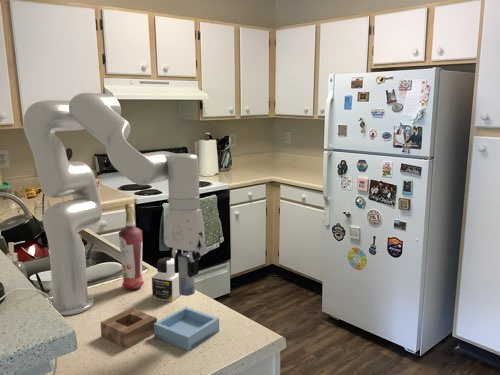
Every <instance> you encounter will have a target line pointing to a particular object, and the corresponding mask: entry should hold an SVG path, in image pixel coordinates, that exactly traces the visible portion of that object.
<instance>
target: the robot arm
mask: <svg viewBox="0 0 500 375" xmlns="http://www.w3.org/2000/svg"><path fill="white" fill-rule="evenodd" d="M121 114H122V107H121V104H120V102H119V101H118V99H117V98H115V96H113V95H111V94H109V93H104V92H100V93H99V92H81V93H78V94H76V95H74V96H73V97H72V98H71V99H70V100H60V99H59V100H57V99H56V100H52V99H51V100H50V99H49V100H48V99H47V100H46V99H45V100H40V101H36V102H34V103H32V104H31V105H29V106H28V107H27V109H26V110H25V112H24V115H23V119H22V120H23V122H22V126H23V131H24V134H25V137H26V139H27V142H28V144H29V146H30V149H31V153H32V155H33V160H34V163H35V164H34V165H35V168H36V172H37V173H36V174H37V176H38V177H37V178H38V181H39V185H40V189H41V191H42V193H43V194H44V195H45V197H48V198H50V199H58V198H59V199H60V198H64V197H68V196H72V199H68V200H64V201H61V202H57V203H54V204H52V205H50V206H49V207H48V208H46V210H45V211H44V212H43V215H42V225H43V228H44V232H45V234H46V238H47V244H48V252H49V264H50V274H51V275H50V276H51V287H52V288H51V289H50V290H49V293H48V294H50V295H51V296H52V300H51V301H50V302H52V305H53V307H54V308H55V309H56V310H57V311H58V312H59V313H60V314H61V315H60V316H72V315H76V314H81V313H83V312H85V311H88V310H89V309H91V308H92V306H94V303H95V302H94V297H93V296H91V295H90V294H88V293H89V292H88V277H87V264H86V262H87V261H86V250H85V245H84V242H83V240H82V239H81V237H80V236H79V234H78V232H81V231H84V230H86V229H89V228H92V227H94V226H97V225H98V224H99V223H100V221H101V219H102V216H103V208H102V203H101V199H100V194H99V189H98V186H97V185H98V184H97V181H96V177H95V174H94V172H93V170H92V169H91V167H90V166H89V165H88V164H86V163H85V162H83V161H78V160H77V161H69V159H68V156H67V151H66V148H65V146H64V144H63V141H61V139H60V138H59V137H58V136H57V135H56V134H55V133H56V132H70V131H81V130H82V131H83V130H86V131H87V132H88V133H89V134H91V135H92V137H94V138H96V139H97V140H98V141H99V142H100V143H102V144H103V145H104V146H105V151H106V155H107V157H108V159H109V161H110V163H111V165H112V166H113V168H114V169H115V170H116V171H118V172H119V173H120V174H121V175H122V176H124V177H125V178H126V179H128V180H129V181H131V182H132V183H133V184H135V185H139V186H149V185H152V184H156V183H160V182H164V181H167V183H168V186H167V187H168V197H167V202H168V207H167V208H166V212H165V219H164V245H165V246H166V247H167V248H168V250H169V251H170V252H171V258H174V269H175V273H178V255H179V254H181V253H184V252H187V253H188V254H189V260H190V261H189V262H188V276H189V277H193V276H194V277H195V276H197V275H198V274H199V260H200V259H201V258H202V257H203V256H204V255H205V254H207V253H209V249H208V247H207V244H206V242H205V241H206V240H205V239H206V234H205V233H206V232H205V224H204V223H205V222H204V217H203V212H202V209H201V205H200V202H201V201H200V175H199V174H200V171H199V170H200V168H199V165H200V164H199V163H200V162H199V158H198V156H197V155H196V154H195V153H183V152H181V153H175V152H171V151H167V150H166V151H164V150H160V151H153V152H145V153H142V152H140V151H138V150H137V149H136V148H135V147H133V146H132V145H131V144H130V143H129V142H128V141H127V140H128V138H129V135H130V134H131V133H130V132H131V124H130V123H129V121H128V120H127V119H125V118H124V117H122V116H121Z"/></svg>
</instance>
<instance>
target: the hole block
mask: <svg viewBox="0 0 500 375" xmlns="http://www.w3.org/2000/svg"><path fill="white" fill-rule="evenodd" d="M156 322H158V320H157V317H156V316H153V315H151V314H147V313H145V312H142V311H139V310H137V309H135V308H132V307H131V308H127V309H125V310H123V311H122V312H120V313H119V312H118V313H117V314H115V315H113V316H112V317H109V318H106V319H104V320H103V321H100V335H101V336H100V337H101V338H104V339H106V340H107V341H110V342H112V343H114V344H116V345H118V346H121V347H123V348H125V349H129V348H131V347H132V346H134V345H136V344H138V343H140V342H142V341H144V340H145V339H148V337H151V336H152V335H153V336H154V323H156Z"/></svg>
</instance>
